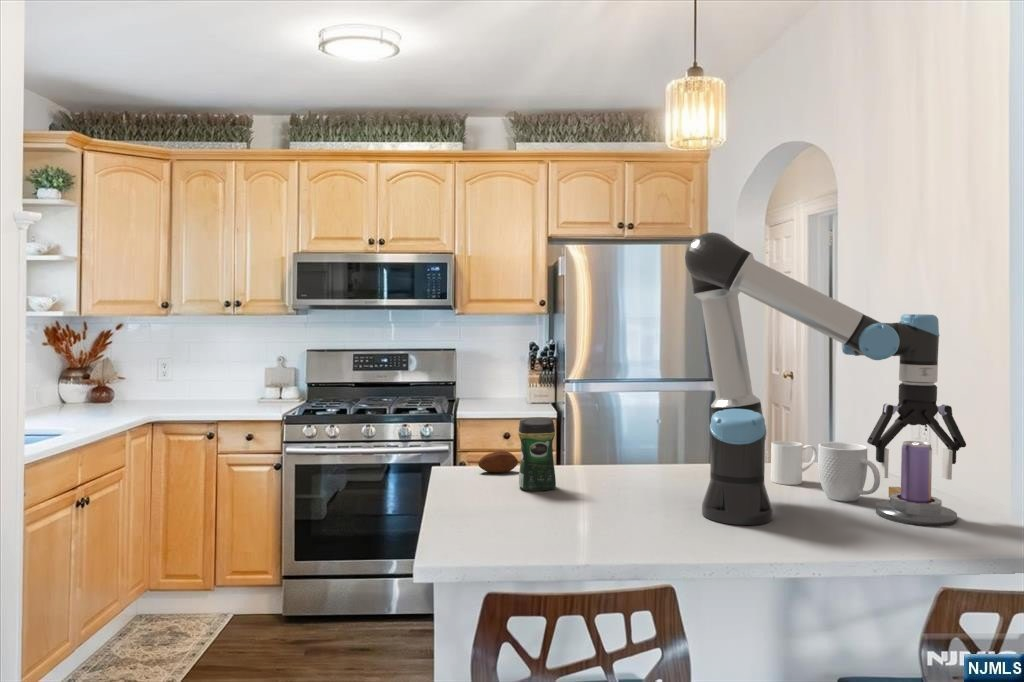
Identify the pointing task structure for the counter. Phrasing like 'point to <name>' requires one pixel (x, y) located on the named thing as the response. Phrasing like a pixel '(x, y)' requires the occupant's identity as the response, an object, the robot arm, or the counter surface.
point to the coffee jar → (536, 454)
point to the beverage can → (916, 471)
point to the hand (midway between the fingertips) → (915, 477)
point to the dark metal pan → (915, 511)
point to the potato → (498, 462)
